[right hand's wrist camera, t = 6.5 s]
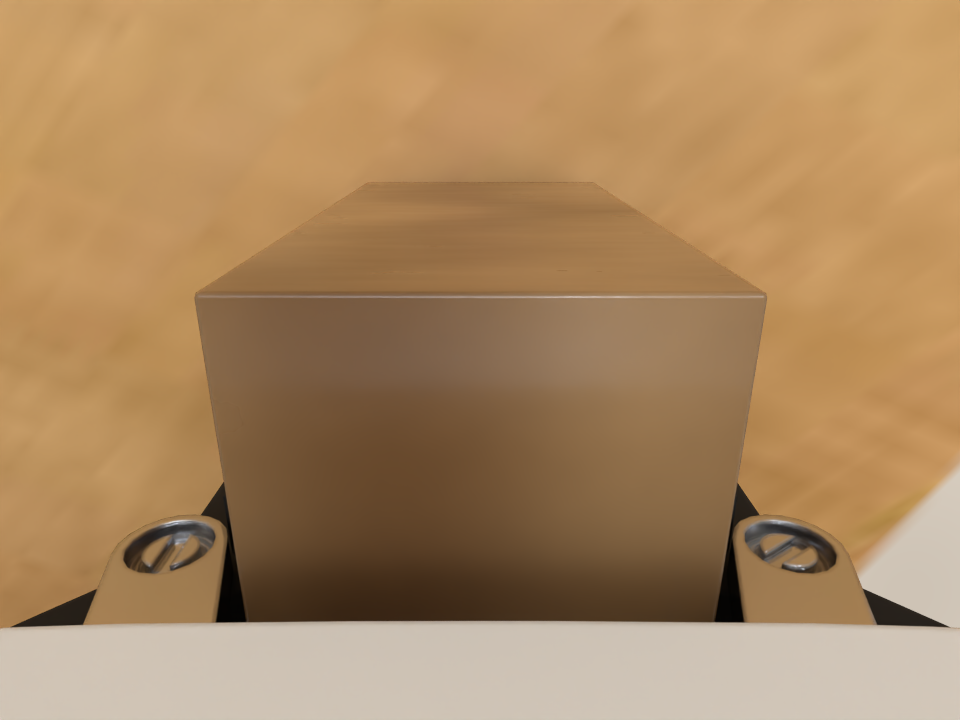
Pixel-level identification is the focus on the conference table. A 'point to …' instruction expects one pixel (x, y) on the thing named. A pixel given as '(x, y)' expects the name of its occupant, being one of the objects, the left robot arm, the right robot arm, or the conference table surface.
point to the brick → (480, 409)
